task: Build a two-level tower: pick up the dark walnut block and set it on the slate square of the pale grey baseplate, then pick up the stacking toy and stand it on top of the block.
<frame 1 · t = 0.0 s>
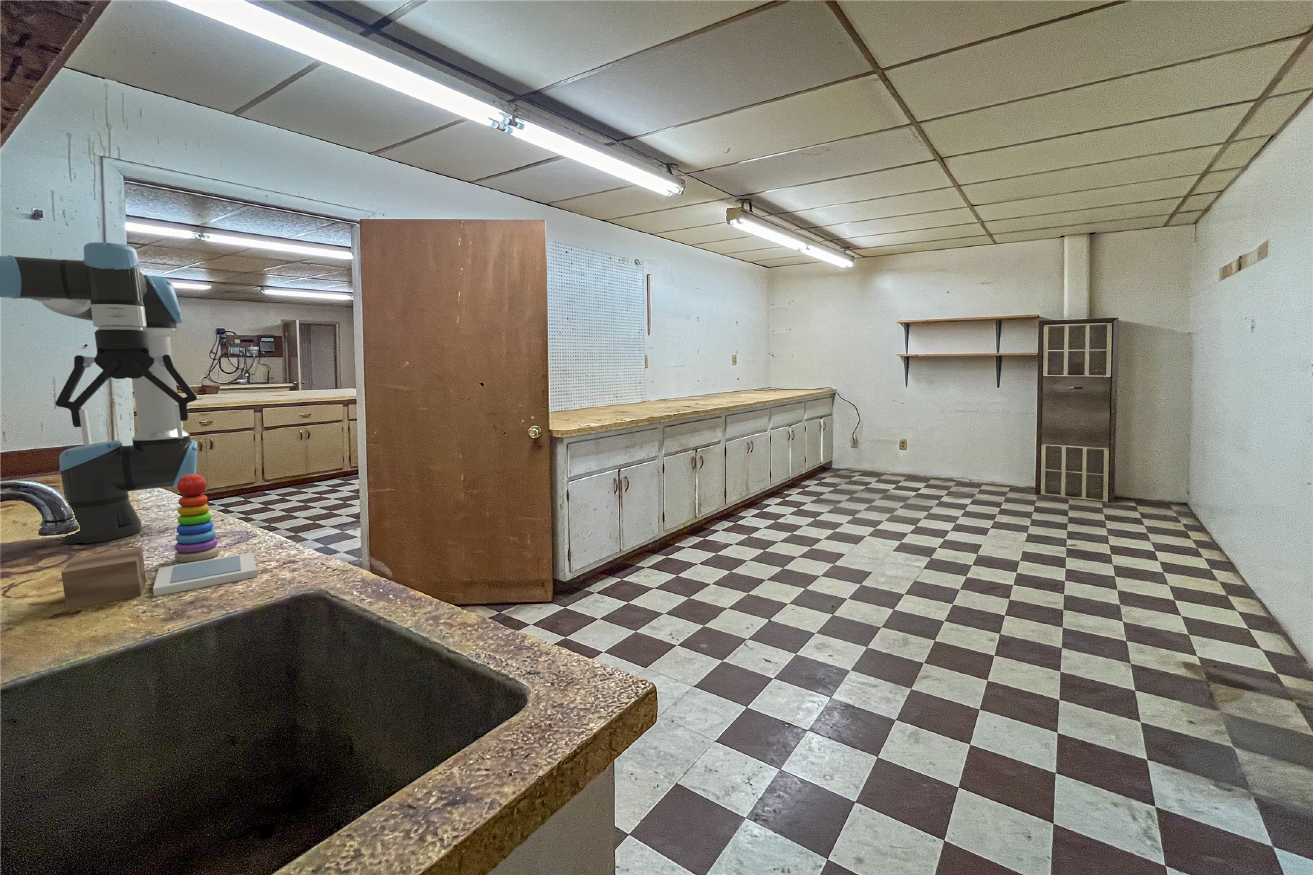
hand: (135, 441, 116), 28 cm above the worktop, tool pointing down, fingers open, 13 cm apart
walnut block: (109, 594, 113), on the worktop
baseplate: (208, 575, 122), on the worktop
stacking toy: (198, 558, 133), on the worktop
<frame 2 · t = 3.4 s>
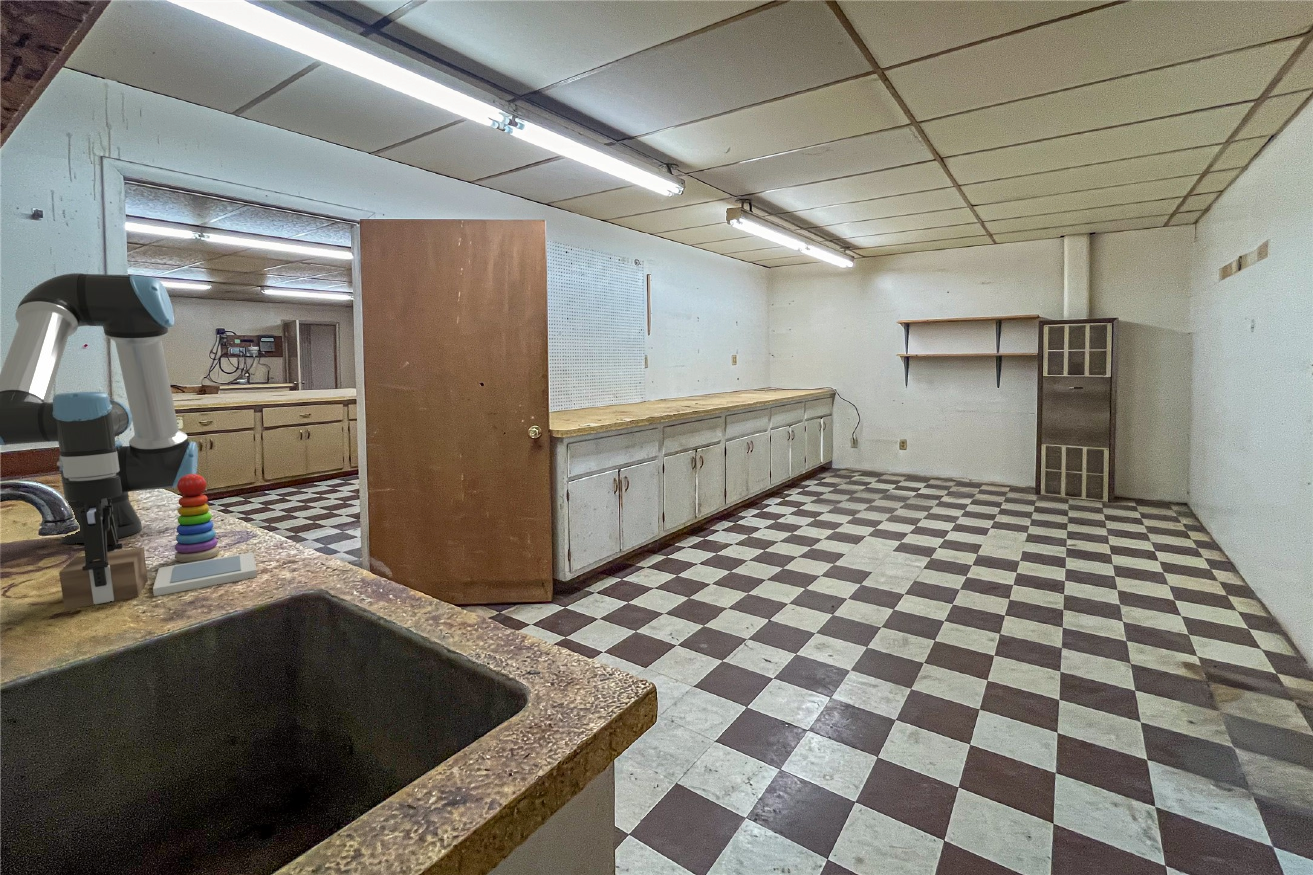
hand: (108, 592, 113), 0 cm above the worktop, tool pointing down, fingers closed on walnut block, 10 cm apart
walnut block: (109, 595, 113), on the worktop, touching gripper
everything else where it was.
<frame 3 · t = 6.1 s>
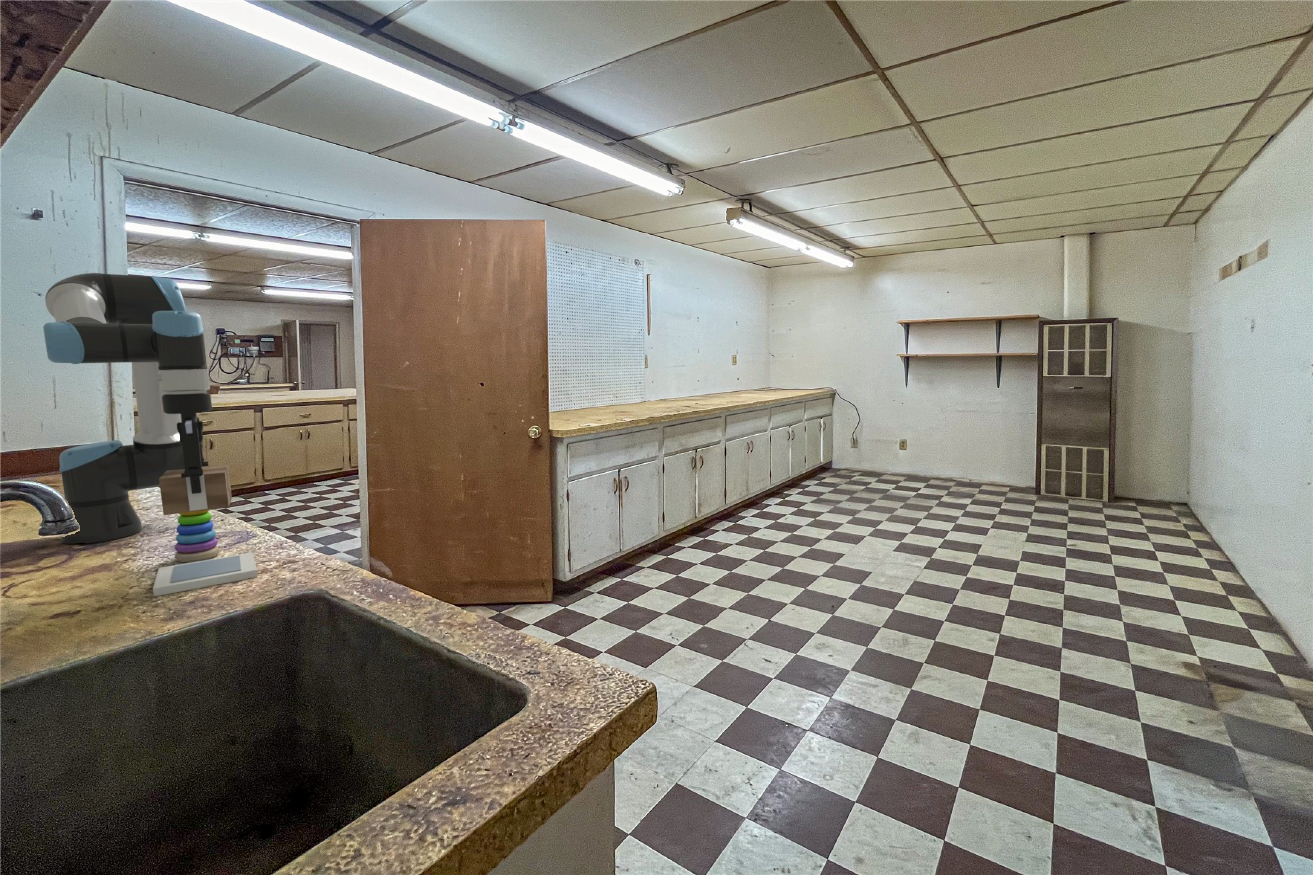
hand: (199, 504, 119), 15 cm above the worktop, tool pointing down, fingers closed on walnut block, 10 cm apart
walnut block: (199, 506, 120), point 15 cm above the worktop, touching gripper
everything else where it was.
when the fingers open (3 cm above the worktop, at t = 8.7 s): walnut block stays where it is, resting on baseplate.
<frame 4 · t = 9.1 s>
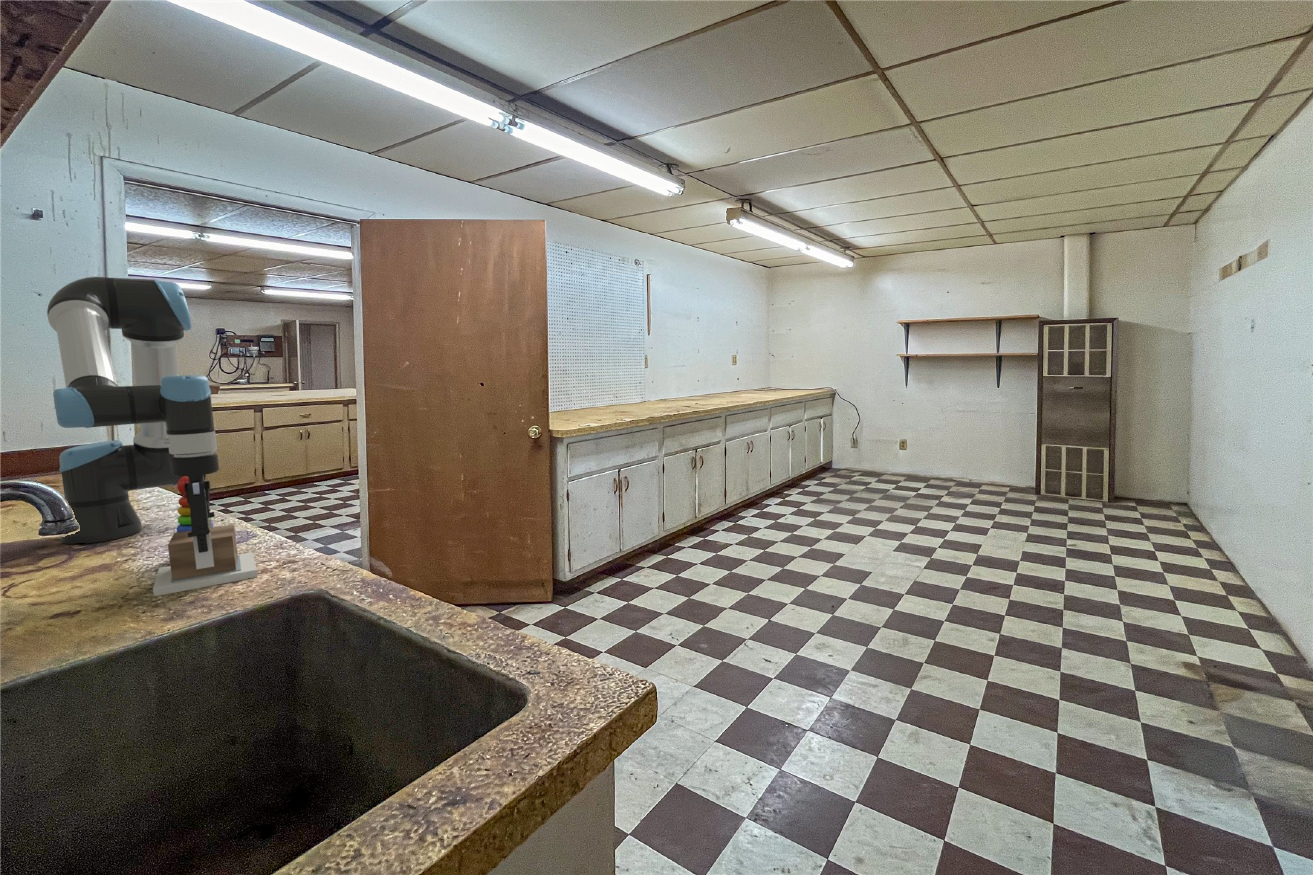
hand: (206, 558, 121), 4 cm above the worktop, tool pointing down, fingers open, 13 cm apart
walnut block: (206, 567, 121), point 2 cm above the worktop, touching baseplate
everything else where it was.
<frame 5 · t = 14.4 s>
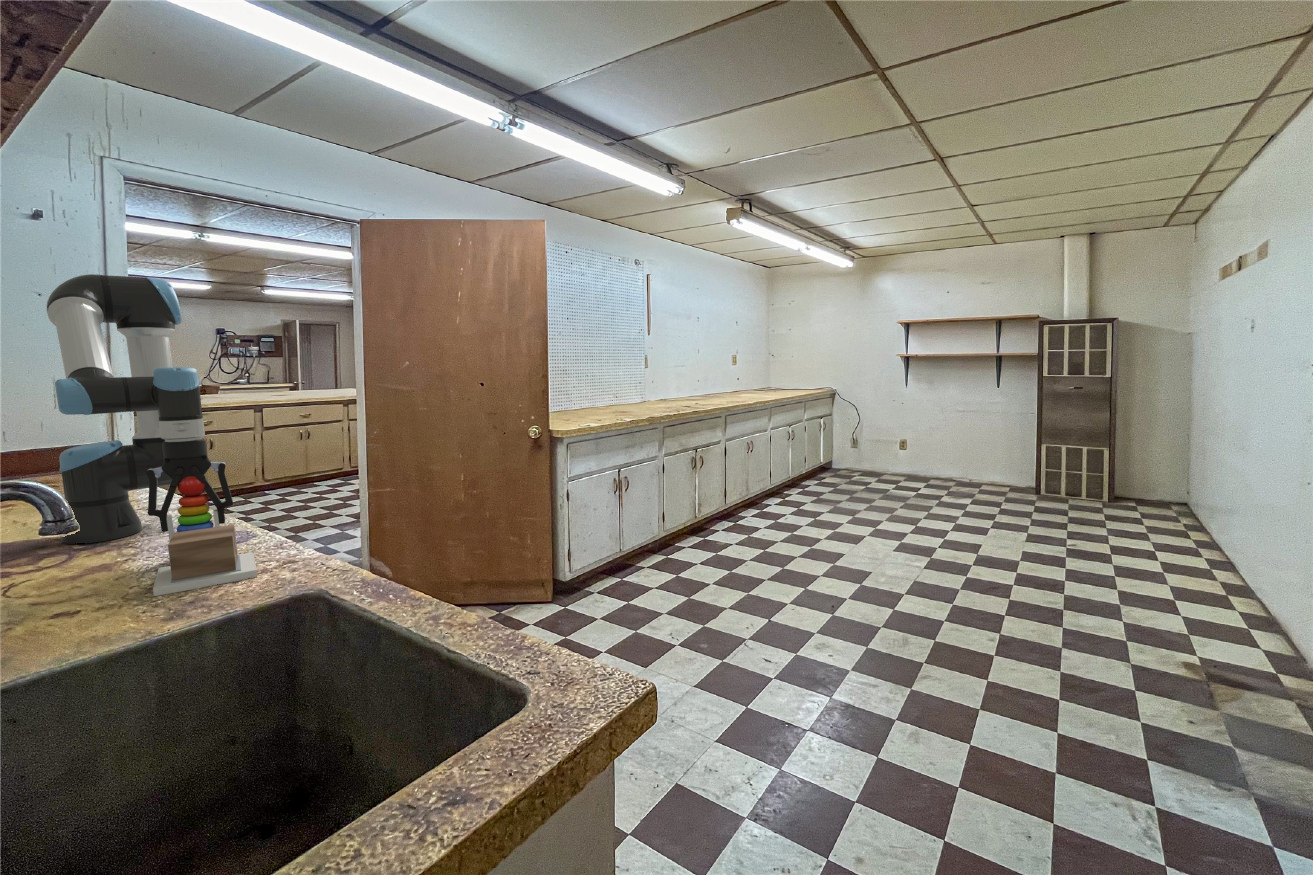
hand: (196, 541, 133), 4 cm above the worktop, tool pointing down, fingers closed on stacking toy, 7 cm apart
stacking toy: (198, 558, 133), on the worktop, touching gripper
everything else where it was.
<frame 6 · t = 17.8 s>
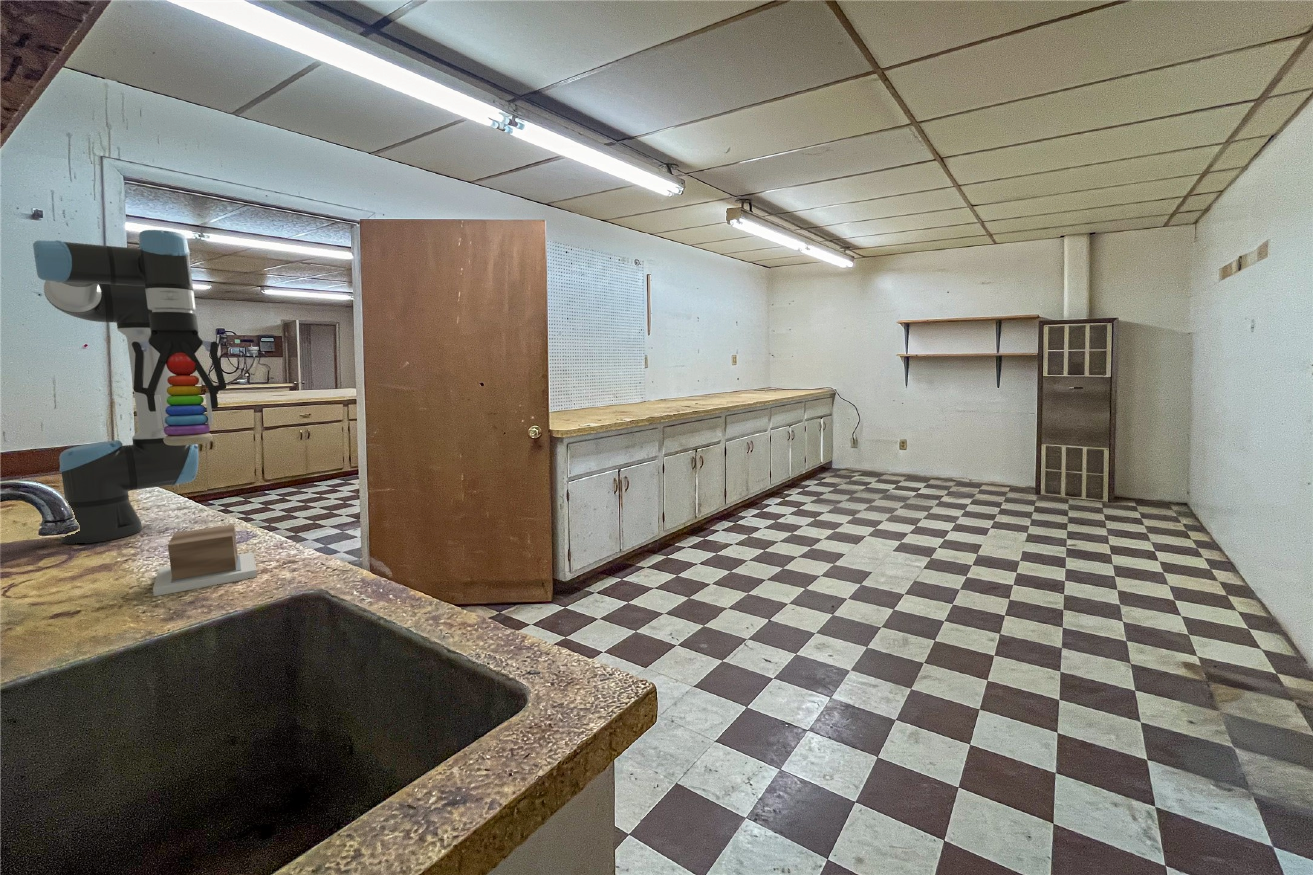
hand: (186, 426, 123), 30 cm above the worktop, tool pointing down, fingers closed on stacking toy, 7 cm apart
stacking toy: (189, 444, 123), point 26 cm above the worktop, touching gripper
everything else where it was.
when the fingers open (14 cm above the worktop, at t = 21.6 s): stacking toy drops 2 cm, resting on walnut block.
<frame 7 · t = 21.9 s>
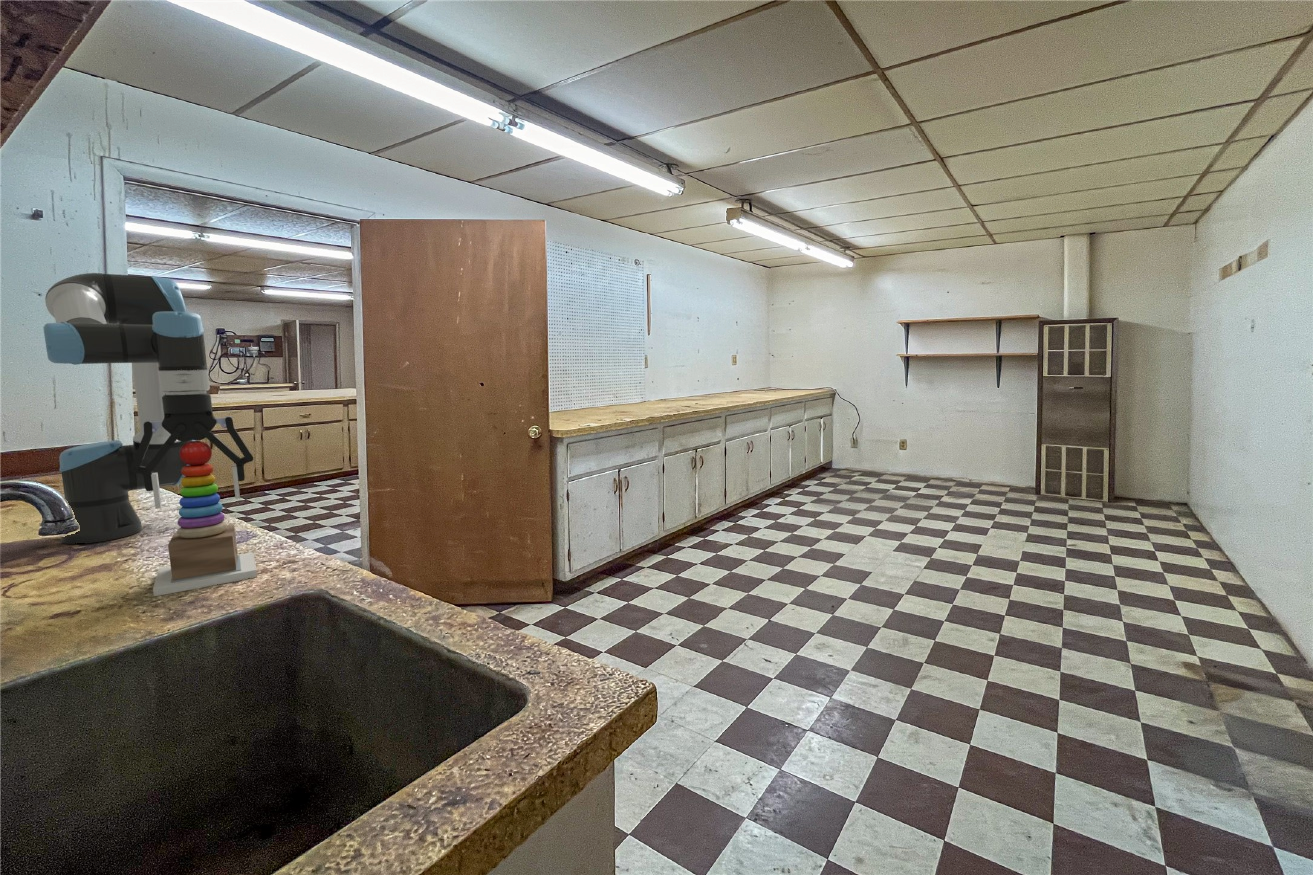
hand: (199, 502, 119), 15 cm above the worktop, tool pointing down, fingers open, 12 cm apart
walnut block: (207, 567, 121), point 2 cm above the worktop, touching baseplate, stacking toy
stacking toy: (203, 534, 120), point 9 cm above the worktop, touching walnut block
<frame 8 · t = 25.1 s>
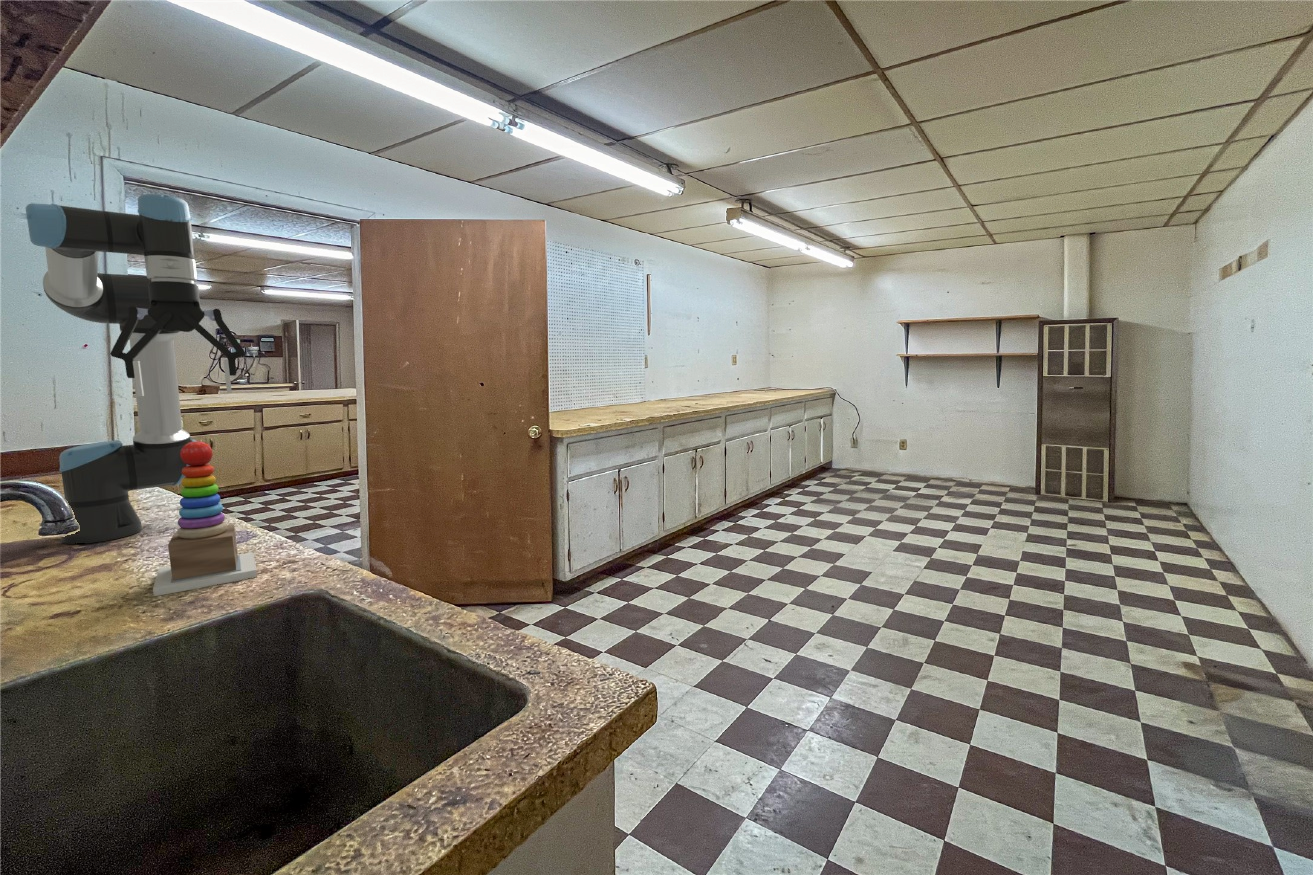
hand: (186, 394, 117), 37 cm above the worktop, tool pointing down, fingers open, 13 cm apart
nothing on the worktop moved.
at the end: walnut block inside the target area (0.1 cm from its centre), point 1.7 cm above the worktop; stacking toy 0.1 cm off-centre on the walnut block, point 6.8 cm above the walnut block's base; stacking toy tilted 0° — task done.
